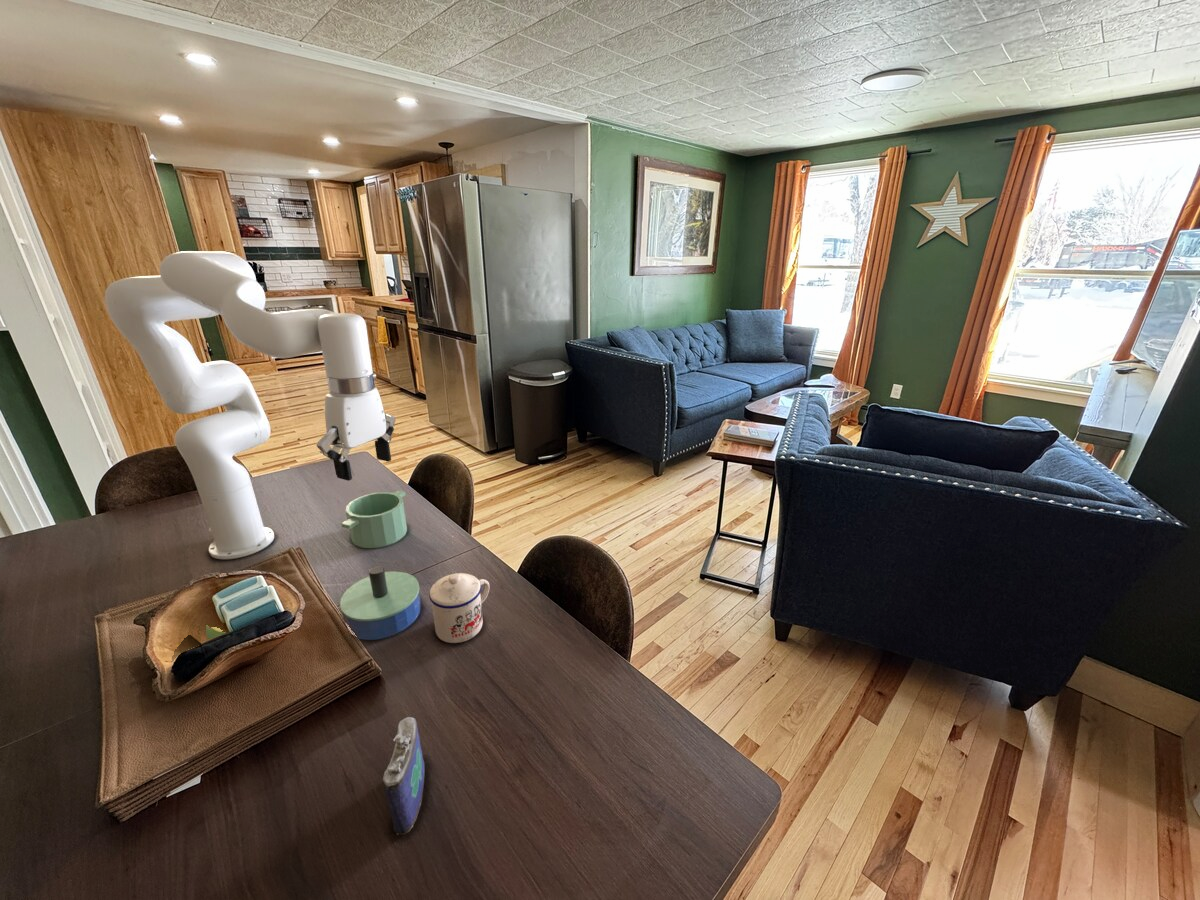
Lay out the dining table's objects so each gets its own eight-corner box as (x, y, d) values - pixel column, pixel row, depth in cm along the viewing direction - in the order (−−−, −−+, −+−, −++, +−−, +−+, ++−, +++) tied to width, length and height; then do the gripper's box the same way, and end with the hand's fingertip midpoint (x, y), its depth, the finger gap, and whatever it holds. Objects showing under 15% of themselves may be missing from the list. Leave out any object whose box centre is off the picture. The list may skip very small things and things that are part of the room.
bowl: (329, 628, 88) (324, 608, 87) (382, 585, 100) (379, 567, 98) (385, 648, 84) (382, 628, 82) (434, 601, 96) (432, 583, 94)
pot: (330, 547, 112) (323, 516, 109) (386, 512, 128) (382, 484, 125) (372, 559, 108) (366, 527, 105) (424, 521, 124) (421, 493, 121)
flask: (407, 761, 65) (397, 706, 61) (429, 759, 66) (421, 704, 62) (390, 837, 57) (376, 779, 53) (415, 833, 57) (404, 775, 53)
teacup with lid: (454, 653, 83) (448, 600, 79) (424, 629, 88) (416, 578, 84) (505, 615, 92) (502, 566, 88) (475, 596, 97) (470, 548, 93)
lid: (323, 612, 87) (316, 582, 84) (380, 569, 99) (375, 542, 96) (383, 632, 82) (377, 602, 80) (434, 585, 94) (431, 558, 92)
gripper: (373, 372, 95) (384, 450, 101) (292, 392, 80) (311, 482, 86) (402, 376, 92) (412, 456, 99) (325, 398, 77) (342, 491, 84)
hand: (365, 468), depth 93 cm, fingers open, 9 cm apart
